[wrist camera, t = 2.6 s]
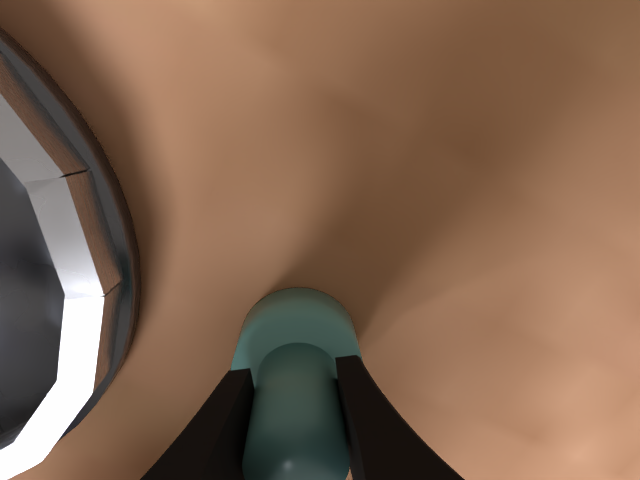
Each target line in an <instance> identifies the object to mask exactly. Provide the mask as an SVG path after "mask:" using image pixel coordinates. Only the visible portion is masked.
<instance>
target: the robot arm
mask: <svg viewBox="0 0 640 480" xmlns="http://www.w3.org/2000/svg"><path fill="white" fill-rule="evenodd" d="M335 361H336V370H337V378H338V386H339V393H340V401H341V407H342V412H343V417H344V423H345V430H346V437H347V444H348V451H349V458H350V469H351V474H352V478H353V480H465V479H463V478H462V477H461V476H460V475H459V474H458V473H457V472H456V471H454V470H453V469H452V468H451V467H450V466H449V465H448V464H447V463H446V462H444V461H443V460H442V459H441V458H440V457H439V456H438V455H437V454H436V453H435V452H434V451H433V450H432V449H431V448H430V447H429V446H428V445H427V444H426V443H425V442H424V441H423V440H422V439H421V438H420V437H419V436H418V435H417V434H416V432H415V431H414V430H413V429H412V428H411V427H410V426H409V425H408V424H407V422H406V421H405V420H404V419H403V418H402V417H401V416H400V414H399V413H398V412H397V411H396V410H395V408H394V407H393V406H392V404H391V403H390V402H389V401H388V399H387V398H386V397H385V395H384V394H383V393H382V392H381V390H380V389H379V387H378V386H377V385H376V383H375V382H374V380H373V379H372V377H371V376H370V374H369V372H368V371H367V369H366V367H365V366H364V364H363V362H362V360H361V358H360V357H359V356H357V355H351V356H343V357H335ZM254 391H255V389H254V384H253V379H252V374H251V369H250V368H246V369H238V370H230V371H228V372H227V373H226V375H225V376H224V377H223V379H222V380H221V381H220V383H219V384H218V385H217V387H216V388H215V390H214V391H213V392H212V394H211V395H210V396H209V398H208V399H207V400H206V402H205V403H204V404H203V406H202V407H201V408H200V410H199V411H198V412H197V413H196V415H195V416H194V417H193V419H192V420H191V421H190V422H189V424H188V425H187V426H186V428H185V429H184V430H183V431H182V433H181V434H180V435H179V436H178V437H177V438H176V440H175V441H174V442H173V443H172V444H171V446H170V447H169V448H168V449H167V450H166V451H165V453H164V454H163V455H162V456H161V457H160V458H159V460H158V461H157V462H156V463H155V464H154V465H153V466H152V467H151V468H150V469H149V471H148V472H147V473H146V474H145V475H144V476H143V477H142V478H141V479H140V480H245V478H244V475H243V471H242V460H243V455H244V449H245V443H246V437H247V432H248V426H249V420H250V414H251V409H252V403H253V397H254Z"/></svg>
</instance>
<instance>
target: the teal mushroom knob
mask: <svg viewBox="0 0 640 480" xmlns="http://www.w3.org/2000/svg"><path fill="white" fill-rule="evenodd" d="M351 355H357V356H359V357H360V358H361V360H362V357H361V353H360V349H359V345H358V341H357V337H356V333H355V329H354V325H353V322H352V319H351V317H350V315H349V314H348V312H347V311H346V309H345V308H344V307H343V306H342V305H341V304H340V303H339V302H338V301H337V300H336V299H334V298H333V297H331V296H329V295H328V294H325V293H323V292H321V291H318V290H314V289H309V288H288V289H283V290H279V291H276V292H274V293H272V294H269V295H268V296H266V297H264V298H263V299H261V300H260V301H259V302H258V303H256V304H255V305H254V307H253V308H252V309H251V310H250V311H249V313H248V314H247V316H246V318H245V320H244V323H243V326H242V329H241V333H240V336H239V340H238V343H237V347H236V350H235V354H234V357H233V361H232V365H231V370H238V369H246V368H250V369H251V374H252V379H253V384H254V389H255V391H254V397H253V403H252V409H251V414H250V420H249V426H248V432H247V437H246V443H245V449H244V455H243V460H242V471H243V475H244V478H245V480H345V479H346V477H347V475H348V472H349V467H350V458H349V451H348V444H347V437H346V430H345V423H344V417H343V412H342V407H341V401H340V393H339V386H338V378H337V370H336V361H335V357H343V356H351ZM362 362H363V361H362Z"/></svg>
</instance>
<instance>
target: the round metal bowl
mask: <svg viewBox="0 0 640 480" xmlns="http://www.w3.org/2000/svg"><path fill="white" fill-rule="evenodd" d="M140 291H141V276H140V261H139V250H138V246H137V241H136V236H135V232H134V227H133V222H132V218H131V215H130V212H129V209H128V206H127V204H126V201H125V198H124V195H123V192H122V189H121V187H120V184H119V181H118V179H117V177H116V175H115V173H114V171H113V169H112V167H111V165H110V163H109V161H108V159H107V157H106V155H105V153H104V151H103V149H102V147H101V145H100V144H99V142H98V141H97V139H96V138H95V136H94V134H93V133H92V131H91V130H90V128H89V127H88V125H87V124H86V122H85V121H84V119H83V117H82V116H81V114H80V113H79V111H78V110H77V108H76V107H75V106H74V105H73V103H72V102H71V101H70V100H69V99H68V97H67V96H66V95H65V94H64V92H63V91H62V90H61V89H60V87H59V86H58V85H57V84H56V83H55V81H54V80H53V79H52V78H51V76H50V75H49V74H48V73H47V72H46V71H45V70H44V69H43V68H42V67H41V66H40V65H39V64H38V63H37V62H36V61H35V60H34V59H33V58H32V57H31V56H30V55H29V54H28V53H27V52H26V51H25V50H24V49H23V48H22V47H21V46H20V45H19V44H18V43H17V42H16V41H15V40H14V39H13V38H12V37H11V36H10V35H9V34H8V33H6V32H5V31H4V30H3V29H1V28H0V480H7V479H9V478H11V477H13V476H15V475H17V474H19V473H21V472H23V471H25V470H27V469H29V468H31V467H33V466H34V465H36V464H38V463H40V462H41V461H42V460H43V459H44V458H45V457H46V455H47V454H48V453H49V451H50V450H51V449H52V447H53V446H54V445H55V443H56V442H58V441H59V440H60V439H61V438H62V437H64V436H65V435H66V434H67V433H69V432H70V431H71V430H72V429H73V428H75V427H76V426H77V425H78V424H79V423H80V422H81V421H82V420H83V419H84V417H85V416H86V415H87V414H88V413H89V412H90V411H91V409H92V408H93V407H94V406H95V405H96V404H97V402H98V401H99V400H100V398H101V397H102V395H103V394H104V393H105V391H106V390H107V388H108V387H109V385H110V384H111V382H112V381H113V379H114V377H115V376H116V374H117V373H118V371H119V369H120V368H121V366H122V364H123V362H124V359H125V357H126V355H127V352H128V350H129V347H130V345H131V343H132V340H133V336H134V331H135V327H136V323H137V319H138V315H139V304H140Z"/></svg>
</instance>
